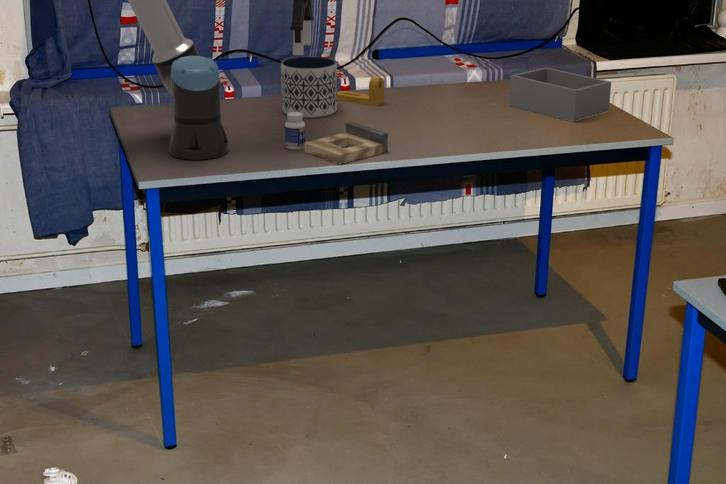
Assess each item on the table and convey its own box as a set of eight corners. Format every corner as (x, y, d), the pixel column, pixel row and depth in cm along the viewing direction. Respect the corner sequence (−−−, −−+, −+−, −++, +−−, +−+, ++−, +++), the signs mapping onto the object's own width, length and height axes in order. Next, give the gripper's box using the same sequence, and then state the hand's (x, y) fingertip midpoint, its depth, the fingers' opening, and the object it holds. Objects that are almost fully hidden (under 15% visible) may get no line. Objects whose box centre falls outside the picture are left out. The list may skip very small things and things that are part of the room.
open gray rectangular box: (573, 122, 307) (576, 90, 303) (508, 105, 323) (510, 75, 320) (608, 112, 316) (611, 81, 313) (543, 96, 333) (545, 67, 330)
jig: (340, 164, 271) (340, 145, 269) (304, 152, 280) (304, 133, 278) (387, 151, 281) (387, 133, 279) (351, 140, 290) (351, 121, 288)
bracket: (384, 103, 326) (384, 76, 323) (376, 106, 322) (376, 79, 319) (341, 97, 333) (341, 70, 330) (333, 100, 330) (333, 73, 326)
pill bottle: (302, 150, 282) (302, 117, 278) (283, 149, 282) (282, 116, 279) (307, 144, 286) (307, 111, 283) (288, 143, 287) (287, 110, 284)
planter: (347, 109, 319) (347, 60, 314) (315, 121, 307) (314, 71, 302) (304, 101, 327) (303, 53, 322) (270, 113, 315) (269, 63, 310)
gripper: (309, -25, 274) (309, 59, 282) (323, -37, 297) (322, 41, 305) (280, -26, 275) (280, 58, 283) (295, -38, 298) (295, 40, 306)
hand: (302, 49), depth 294 cm, fingers open, 13 cm apart
